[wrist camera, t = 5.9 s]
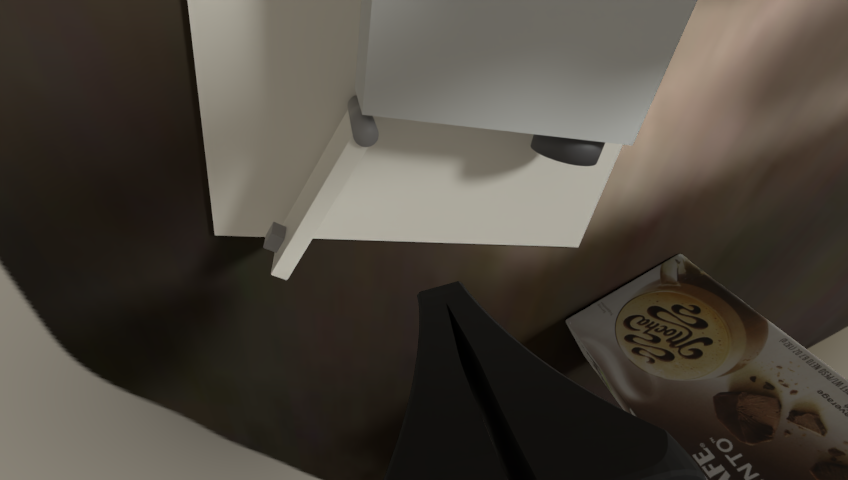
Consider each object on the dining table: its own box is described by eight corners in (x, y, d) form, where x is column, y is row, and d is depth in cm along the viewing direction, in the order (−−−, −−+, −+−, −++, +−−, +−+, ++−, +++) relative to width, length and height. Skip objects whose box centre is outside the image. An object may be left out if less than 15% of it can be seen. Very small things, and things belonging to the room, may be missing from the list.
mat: (703, -55, 17) (709, -55, 17) (575, 244, 24) (578, 247, 24) (165, -210, 12) (162, -214, 11) (216, 232, 19) (214, 235, 19)
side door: (343, 84, 16) (348, 108, 13) (372, 102, 17) (383, 130, 14) (266, 224, 19) (255, 272, 16) (294, 236, 20) (288, 284, 17)
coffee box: (587, 362, 32) (778, 639, 18) (562, 317, 28) (776, 621, 15) (695, 303, 30) (983, 555, 17) (682, 248, 27) (1034, 512, 13)
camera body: (644, -57, 16) (742, -68, 12) (572, 141, 20) (629, 178, 16) (371, -132, 13) (390, -177, 9) (352, 116, 17) (360, 154, 14)
